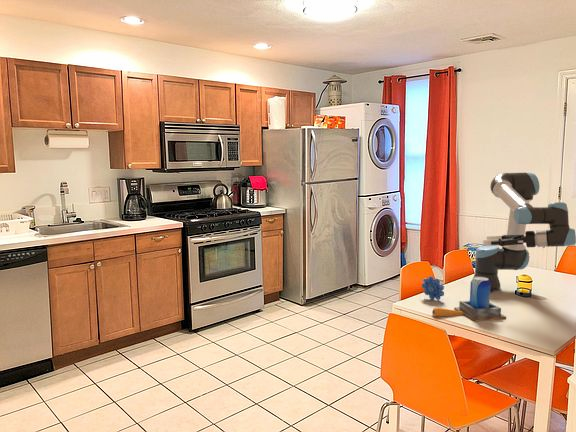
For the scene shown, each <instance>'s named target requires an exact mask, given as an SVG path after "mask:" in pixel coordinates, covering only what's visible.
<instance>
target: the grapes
mask: <svg viewBox="0 0 576 432" xmlns="http://www.w3.org/2000/svg"><path fill="white" fill-rule="evenodd" d="M422 279H423V281H422V283H421V288H422V289H423V293H424V294H425V296H428V297H429V299H431V300H435V299H436V300H437V301H440V299H442V298H441V297H443V296H445V292H444V290H445V286H444V285H443V284H441V282H440V280H439V278H434V277H433V276H432V275H430V276H428V278H426V277H424V278H422Z"/></svg>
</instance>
